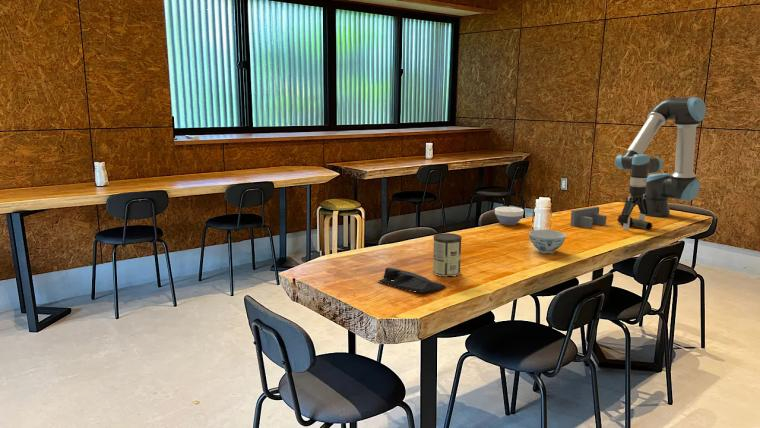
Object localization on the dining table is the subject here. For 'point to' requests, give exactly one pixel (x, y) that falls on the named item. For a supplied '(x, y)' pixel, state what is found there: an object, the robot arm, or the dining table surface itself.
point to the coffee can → (447, 254)
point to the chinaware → (547, 240)
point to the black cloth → (409, 281)
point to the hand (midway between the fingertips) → (633, 228)
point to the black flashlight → (636, 223)
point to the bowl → (509, 215)
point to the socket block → (587, 217)
